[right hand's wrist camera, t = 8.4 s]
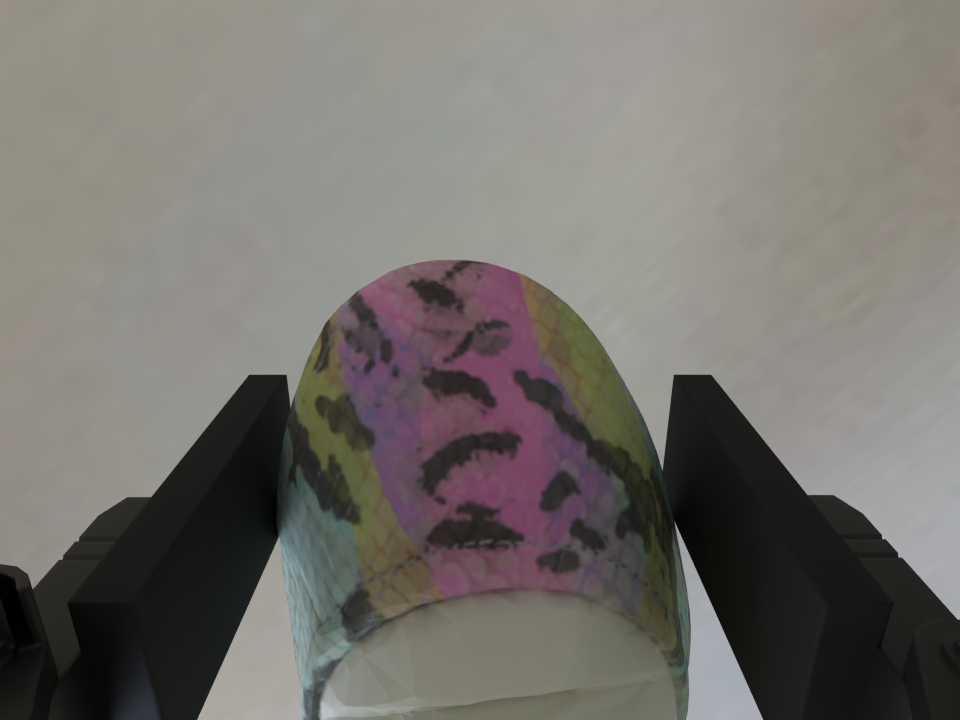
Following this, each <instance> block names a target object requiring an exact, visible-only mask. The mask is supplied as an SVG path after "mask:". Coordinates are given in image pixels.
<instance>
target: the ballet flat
mask: <svg viewBox="0 0 960 720" xmlns="http://www.w3.org/2000/svg"><path fill="white" fill-rule="evenodd" d="M276 526H277V535H278V541H279V546H280V552H281V559H282V566H283V573H284V580H285V586H286V592H287V597H288V603H289V609H290V616H291V627H292V632H293V639H294V650H295V659H296V664H297V668H298V672H299V677H300V680H301V685H302V693H301V712H302V720H686V717H687V711H688V700H689V677H688V665H689V655H690V636H691V625H690V611H689V603H688V595H687V588H686V582H685V577H684V571H683V566H682V560H681V555H680V550H679V544H678V539H677V534H676V528H675V522H674V516H673V512H672V507H671V502H670V498H669V493H668V488H667V485H666V481H665V478H664V475H663V471H662V468H661V465H660V462H659V458H658V455H657V452H656V449H655V446H654V444H653V441H652V438H651V436H650V433H649V431H648V428H647V426H646V423H645V421H644V418H643V416H642V414H641V413H640V411H639V409H638V407H637V405H636V403H635V401H634V399H633V397H632V396H631V394H630V392H629V390H628V388H627V386H626V385H625V383H624V381H623V379H622V378H621V376H620V374H619V373H618V371H617V369H616V367H615V366H614V364H613V362H612V361H611V359H610V357H609V356H608V354H607V352H606V351H605V349H604V347H603V345H602V344H601V343H600V341H599V340H598V339H597V337H596V336H595V335H594V333H593V332H592V331H591V330H590V328H589V327H588V326H587V325H586V323H585V322H584V321H583V320H582V319H581V318H580V316H579V315H578V314H577V313H576V312H575V311H574V310H573V309H572V308H571V307H570V306H569V305H567V304H566V303H565V302H564V301H562V300H561V299H560V298H559V297H557V296H556V295H555V294H554V293H552V292H551V291H550V290H549V289H547V288H545V287H544V286H542V285H540V284H539V283H537V282H535V281H534V280H532V279H530V278H529V277H527V276H525V275H522V274H520V273H517V272H514V271H511V270H508V269H505V268H502V267H499V266H496V265H492V264H488V263H483V262H475V261H466V260H437V261H428V262H421V263H417V264H413V265H408V266H404V267H402V268H399V269H396V270H393V271H391V272H389V273H387V274H385V275H384V276H382V277H380V278H379V279H377V280H375V281H374V282H372V283H370V284H369V285H367V286H365V287H364V288H362V289H360V290H359V291H357V292H356V293H355V294H354V295H353V296H352V297H351V298H350V299H349V300H347V301H346V302H345V303H344V304H343V305H342V306H341V307H340V308H339V309H338V310H337V311H336V312H335V313H334V314H333V315H332V317H331V318H330V319H329V320H328V321H327V323H326V324H325V326H324V328H323V330H322V332H321V334H320V336H319V338H318V339H317V341H316V343H315V345H314V347H313V349H312V351H311V353H310V356H309V358H308V360H307V363H306V366H305V368H304V371H303V374H302V377H301V380H300V382H299V385H298V388H297V391H296V394H295V396H294V399H293V402H292V406H291V410H290V414H289V418H288V422H287V426H286V430H285V434H284V439H283V446H282V453H281V460H280V467H279V477H278V488H277V510H276Z"/></svg>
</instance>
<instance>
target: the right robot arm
mask: <svg viewBox="0 0 960 720" xmlns="http://www.w3.org/2000/svg"><path fill="white" fill-rule="evenodd" d="M290 410H291V409H290V401H289V392H288V383H287V375H249V376H248V377H247V378H246V380H245V381H244V382H243V383H242V385H241V386H240V387H239V388H238V390H237V391H236V392H235V393H234V395H233V396H232V397H231V398H230V400H229V401H228V402H227V403H226V405H225V406H224V407H223V408H222V410H221V411H220V412H219V413H218V415H217V416H216V417H215V418H214V420H213V421H212V422H211V423H210V425H209V426H208V427H207V428H206V430H205V431H204V432H203V433H202V435H201V436H200V437H199V438H198V440H197V441H196V442H195V443H194V445H193V446H192V447H191V448H190V450H189V451H188V452H187V453H186V455H185V456H184V457H183V458H182V460H181V461H180V462H179V463H178V465H177V466H176V467H175V468H174V470H173V471H172V472H171V473H170V475H169V476H168V477H167V478H166V480H165V481H164V482H163V483H162V485H161V486H160V487H159V488H158V490H157V491H156V492H155V493H154V495H153V496H152V497H127V498H126V499H124V500H122V501H121V502H119V503H118V504H116V505H115V506H113V507H111V508H110V509H108V510H107V511H105V512H104V513H102V514H100V515H99V516H98V517H97V518H96V519H95V520H94V521H93V522H92V524H91V525H90V526H89V527H88V528H87V529H86V530H85V531H84V533H83V534H82V535H81V536H80V537H79V542H75V543H74V544H73V545H72V546H71V547H70V548H69V549H68V551H67V552H66V553H65V554H64V555H63V560H59V561H58V562H57V563H56V564H55V565H54V566H53V567H52V569H51V570H50V571H49V572H48V573H47V574H46V575H45V576H44V578H43V579H42V580H41V581H40V582H39V583H38V584H37V585H36V587H35V588H34V589H32V586H31V583H30V580H29V576H28V574H26V573H25V572H24V571H22V570H21V569H20V568H18V567H16V566H9V565H1V564H0V720H197V719H198V716H199V714H200V712H201V710H202V707H203V705H204V703H205V701H206V699H207V696H208V694H209V692H210V690H211V687H212V685H213V683H214V681H215V678H216V676H217V674H218V672H219V669H220V667H221V665H222V663H223V660H224V658H225V656H226V654H227V652H228V649H229V647H230V645H231V643H232V640H233V638H234V636H235V634H236V631H237V629H238V627H239V625H240V622H241V620H242V618H243V616H244V613H245V611H246V609H247V607H248V605H249V602H250V600H251V598H252V596H253V593H254V591H255V589H256V587H257V584H258V582H259V580H260V578H261V575H262V573H263V571H264V569H265V566H266V564H267V562H268V560H269V558H270V555H271V553H272V551H273V549H274V546H275V544H276V542H277V540H278V535H277V526H276V510H277V488H278V477H279V467H280V460H281V453H282V446H283V439H284V434H285V430H286V426H287V422H288V418H289V414H290ZM663 475H664V478H665V481H666V485H667V488H668V493H669V498H670V502H671V507H672V512H673V516H674V521H675V523H676V525H677V527H678V530H679V532H680V534H681V536H682V539H683V541H684V543H685V545H686V548H687V550H688V552H689V554H690V557H691V559H692V561H693V563H694V566H695V568H696V570H697V572H698V574H699V577H700V579H701V581H702V583H703V586H704V588H705V590H706V592H707V595H708V597H709V599H710V601H711V604H712V606H713V608H714V610H715V612H716V615H717V617H718V619H719V621H720V624H721V626H722V628H723V630H724V633H725V635H726V637H727V639H728V642H729V644H730V646H731V648H732V651H733V653H734V655H735V657H736V659H737V662H738V664H739V666H740V668H741V671H742V673H743V675H744V677H745V680H746V682H747V684H748V686H749V689H750V691H751V693H752V695H753V698H754V700H755V702H756V704H757V706H758V709H759V711H760V713H761V715H762V718H763V720H960V620H957V619H956V617H955V616H954V615H953V614H952V613H951V612H950V611H949V610H948V608H947V607H946V606H945V605H944V604H943V603H942V602H941V601H940V600H939V598H938V597H937V596H936V595H935V594H934V593H933V592H932V591H931V589H930V588H929V587H928V586H927V585H926V584H925V583H924V582H923V581H922V579H921V578H920V577H919V576H918V575H917V574H916V573H915V572H914V570H913V569H912V568H911V567H910V566H909V565H908V564H907V563H906V562H905V560H904V559H903V558H899V557H898V553H897V551H896V550H895V549H894V548H893V547H892V546H891V545H890V544H889V543H888V541H887V540H886V539H882V535H881V534H880V532H879V531H878V530H877V529H876V528H875V527H874V526H873V525H872V524H871V522H870V521H869V520H868V519H867V518H866V517H865V516H864V515H863V514H862V513H861V512H859V511H858V510H856V509H855V508H853V507H851V506H850V505H848V504H847V503H845V502H843V501H842V500H840V499H839V498H837V497H836V496H834V495H807V494H806V493H805V491H804V490H803V489H802V488H801V486H800V485H799V484H798V483H797V481H796V480H795V479H794V478H793V476H792V475H791V474H790V473H789V471H788V470H787V469H786V468H785V466H784V465H783V464H782V463H781V461H780V460H779V459H778V458H777V456H776V455H775V454H774V453H773V451H772V450H771V449H770V448H769V446H768V445H767V444H766V443H765V441H764V440H763V439H762V438H761V436H760V435H759V434H758V433H757V431H756V430H755V429H754V428H753V426H752V425H751V424H750V423H749V421H748V420H747V419H746V418H745V416H744V415H743V414H742V413H741V411H740V410H739V409H738V408H737V406H736V405H735V404H734V403H733V402H732V400H731V399H730V398H729V397H728V395H727V394H726V393H725V392H724V390H723V389H722V388H721V387H720V385H719V384H718V383H717V382H716V380H715V379H714V378H713V377H712V375H674V379H673V387H672V396H671V404H670V413H669V422H668V430H667V439H666V447H665V456H664V465H663Z"/></svg>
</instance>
